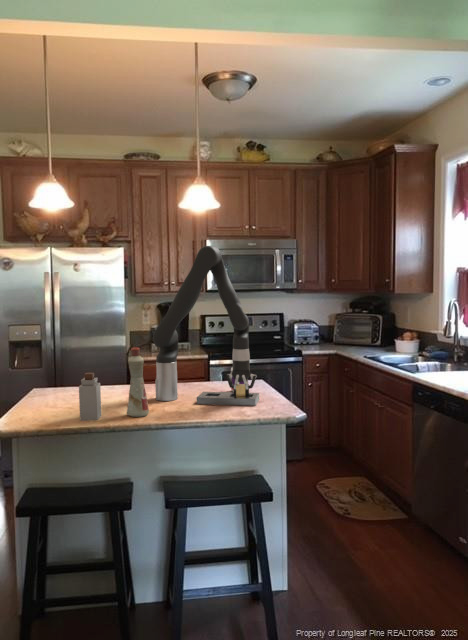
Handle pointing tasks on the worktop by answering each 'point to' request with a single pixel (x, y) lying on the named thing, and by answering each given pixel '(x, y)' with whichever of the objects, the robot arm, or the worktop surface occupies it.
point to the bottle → (137, 386)
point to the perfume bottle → (89, 398)
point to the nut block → (240, 390)
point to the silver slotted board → (227, 399)
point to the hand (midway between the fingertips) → (241, 397)
